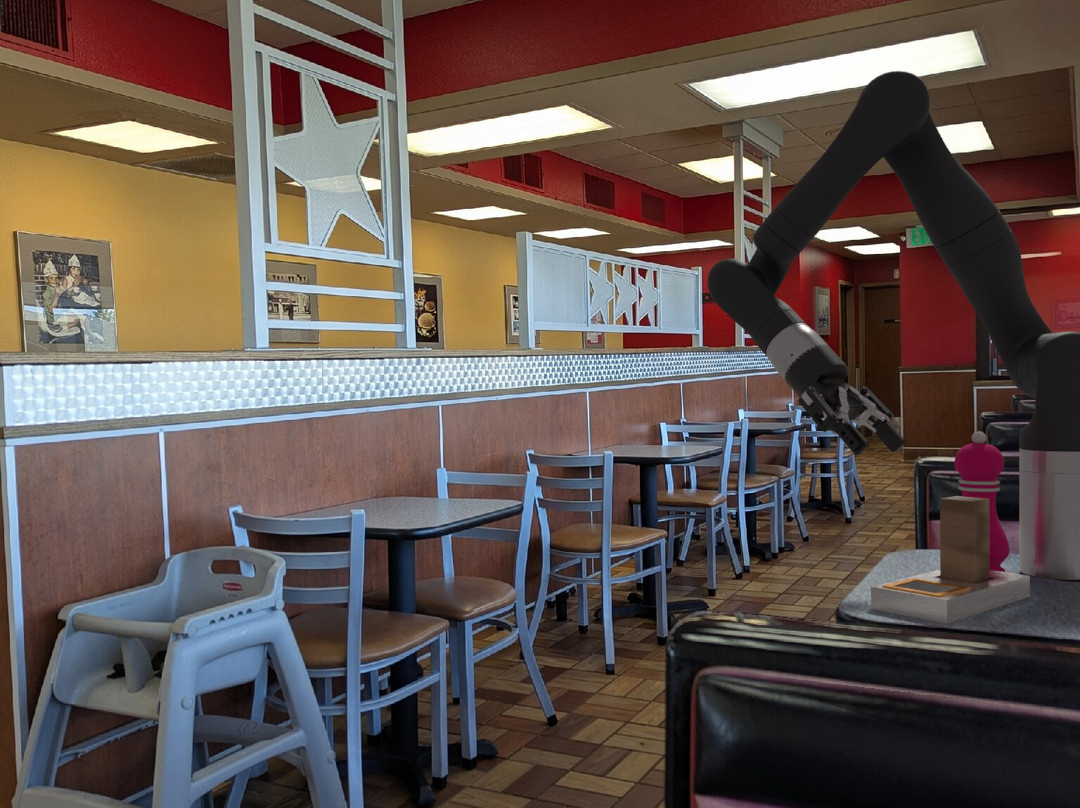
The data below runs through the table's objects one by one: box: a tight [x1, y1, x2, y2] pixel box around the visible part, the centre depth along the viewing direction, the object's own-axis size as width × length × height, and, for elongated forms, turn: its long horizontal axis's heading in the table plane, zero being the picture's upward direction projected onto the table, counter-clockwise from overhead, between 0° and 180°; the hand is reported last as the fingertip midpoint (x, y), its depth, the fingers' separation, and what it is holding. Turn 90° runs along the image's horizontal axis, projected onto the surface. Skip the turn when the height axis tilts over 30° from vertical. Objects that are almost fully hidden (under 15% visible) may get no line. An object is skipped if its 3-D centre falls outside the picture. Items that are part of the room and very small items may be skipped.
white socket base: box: [870, 569, 1031, 624], centre depth 109 cm, size 20×9×3 cm, turn 129°
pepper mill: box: [954, 430, 1010, 572], centre depth 123 cm, size 7×7×20 cm
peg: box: [939, 495, 989, 584], centre depth 111 cm, size 4×4×12 cm
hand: (882, 449), depth 119 cm, fingers open, 8 cm apart
